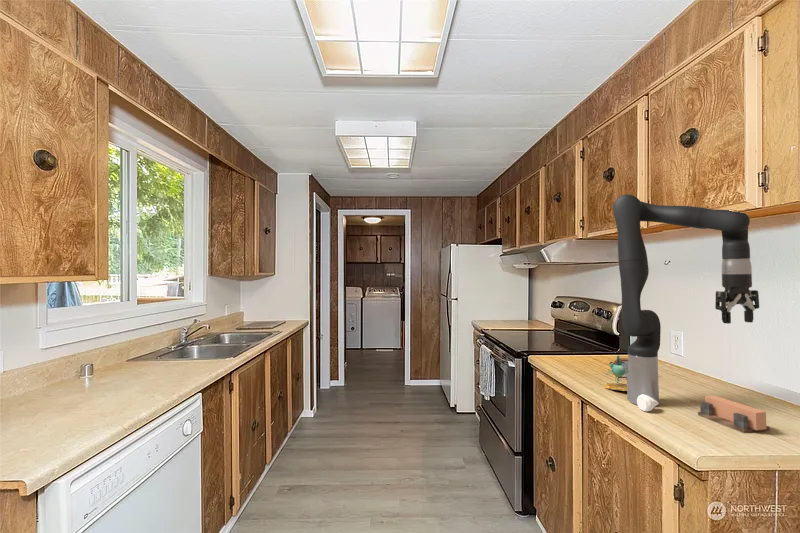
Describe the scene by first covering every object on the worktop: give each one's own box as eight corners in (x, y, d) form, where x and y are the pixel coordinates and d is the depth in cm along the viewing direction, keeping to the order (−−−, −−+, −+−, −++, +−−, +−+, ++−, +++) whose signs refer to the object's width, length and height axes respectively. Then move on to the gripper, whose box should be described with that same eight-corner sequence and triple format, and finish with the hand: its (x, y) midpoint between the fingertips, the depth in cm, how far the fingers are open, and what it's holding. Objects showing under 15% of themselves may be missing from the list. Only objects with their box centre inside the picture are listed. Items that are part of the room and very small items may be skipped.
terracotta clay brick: (756, 430, 118) (755, 412, 118) (705, 411, 133) (705, 396, 133) (766, 429, 118) (765, 411, 118) (714, 410, 134) (714, 395, 134)
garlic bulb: (663, 412, 136) (663, 396, 136) (648, 413, 135) (647, 397, 135) (650, 406, 142) (650, 391, 142) (635, 408, 140) (635, 392, 140)
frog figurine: (617, 397, 153) (614, 357, 155) (598, 388, 171) (595, 353, 172) (644, 397, 152) (640, 357, 154) (622, 388, 170) (619, 352, 172)
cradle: (697, 415, 133) (697, 401, 133) (721, 412, 135) (720, 399, 135) (744, 433, 118) (743, 417, 118) (769, 430, 120) (769, 414, 120)
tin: (648, 376, 179) (648, 357, 179) (651, 378, 176) (651, 359, 176) (612, 376, 182) (611, 357, 182) (614, 378, 179) (614, 359, 179)
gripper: (729, 273, 127) (730, 325, 127) (766, 272, 130) (768, 323, 129) (707, 273, 135) (708, 322, 134) (743, 272, 137) (744, 320, 137)
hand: (737, 322), depth 132 cm, fingers open, 8 cm apart
